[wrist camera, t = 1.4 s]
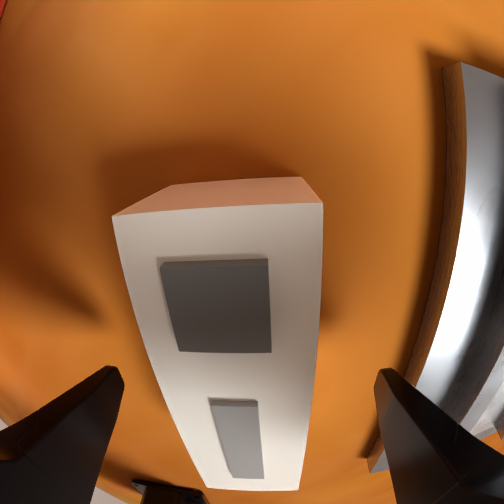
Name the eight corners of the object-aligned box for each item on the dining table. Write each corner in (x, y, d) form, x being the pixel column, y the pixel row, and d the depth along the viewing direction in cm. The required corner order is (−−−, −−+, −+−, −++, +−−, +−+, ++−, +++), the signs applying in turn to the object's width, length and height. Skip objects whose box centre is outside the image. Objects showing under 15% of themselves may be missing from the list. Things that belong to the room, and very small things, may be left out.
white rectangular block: (295, 424, 13) (298, 495, 9) (218, 423, 13) (206, 492, 9) (300, 175, 9) (326, 206, 5) (173, 183, 9) (104, 220, 5)
